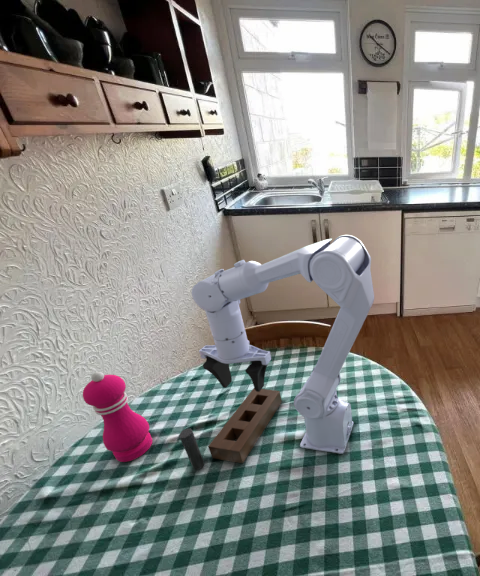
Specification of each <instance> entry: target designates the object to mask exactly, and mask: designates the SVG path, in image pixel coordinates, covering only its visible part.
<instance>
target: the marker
mask: <svg viewBox="0 0 480 576" xmlns="http://www.w3.org/2000/svg"><path fill="white" fill-rule="evenodd" d="M178 437H179V439H180V442H181V444H182V446H183V448H184V451H185V453H186V455H187V458H188V460H189V462H190V465H191V467H192V469H193V470H194V471H198V470H200V469H202V468H203V467H204V465H205V461H204V458H203V454H202V453H201V450H200V447H199V446H198V443H197V440H196V437H195V434H194V431H193V429H192V428H185V429H183V430H182V431H180V432H179V434H178Z"/></svg>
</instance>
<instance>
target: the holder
mask: <svg viewBox="0 0 480 576" xmlns="http://www.w3.org/2000/svg"><path fill="white" fill-rule="evenodd" d="M282 402H283V400H282V396H281V391H280V390H275V389H268V388H267V389H266V388H262V389H261V390H260V392H256V390H255V388H252V390H251V391H250V392H249V393H248V395H247V396H246V397H245V398H244V399H243V401H242V402H241V403H240V404H239V406H238V407H237V409H236V410H235V411H234V413H233V414H232V415H231V416H230V418H229V419H228V420H227V421H226V423H224V426H222V428H221V429H220V430H219V432H218V433H217V434H216V435H215V437H214V438H213V440H212V441H211V442H210V443H209V444H208V445H207V448H208V450H209V452H210V455H211V458H212V459H215V460H220V461H225V462H230V463H231V462H232V463H236V464H237V463H238V464H244V462H245V461H246V460H247V457H248V456H249V455H250V453H251V452H252V450H253V448H254V447H255V445H256V443H257V442H258V441H259V439H260V437H261V436H262V434H263V433H264V431H265V430H266V427H267V426H268V425H269V424H270V422H271V420H272V418H273V417H274V415H275V413H276V412H277V410H278V409H279V407H280V406H281V404H282Z"/></svg>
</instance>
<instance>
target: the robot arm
mask: <svg viewBox="0 0 480 576" xmlns="http://www.w3.org/2000/svg"><path fill="white" fill-rule="evenodd" d="M332 240H333V238H327V239H324V240H323V239H322V240H320V241H317V242H314V243H311V244H309V245H305V246H303V247H301V248H298V249H296V250H293V251H291V252H288V253H286V254H284V255H282V256H279V257H277V258H274V259H272V260H270V261H267V262H265V263H262V264H261V263H260V262H258V261H255V260H249V261H246V260H245V259H241V260H239V261H237V262H235V263H233V267H231V268H228V269H225V270H224V268H220V269H218V270H216V271H215V272H214V273H213V274H212V275H209V276H208V277H206V278H204V279H202V280H199V281H197V283H196V284H194V285H193V286H192V288H191V297H192V300H193V301H194V303H195V304H196V306H198V307H199V308H200V309H202V310H203V311H204V312H205V316H206V319H207V322H208V326H209V329H210V333H211V335H212V338H213V342H214V344H212V345H209V344H206V345H204V346H203V347H202V348H200V349H199V350H198V353H199V355H200V359H203V360H205V362H204V363H203V364H202V368H203V369H204V370H206V371H207V372H209V373H210V374H211V375H212V376H213V377H214V378H216V380H217V381H218V382H219V384H220V385H221V386H222V388H223V389H227V387H228V386H229V385H230V384H231V383H232V382H233V380H232V379H233V378H232V372H231V369H230V365H231V364H239V363H247V362H250V364H249V365H248V367H247V368H246V369H245V370H244V371H245V373H246V374H247V375H248V376H249V378H250V379H251V381H252V384H253V387H254V388H255V390H256V392H260V390H261V389H264V386H265V376H266V370H267V367H268V365H269V363H270V362H271V360H272V355H271V351H270V350H265V349H261V348H259V347H257V346H254V345H252V344H250V340H248V336H247V331H246V328H245V327H246V326H245V323H244V320H243V316H242V312H241V307H240V304H241V300H243V299H247V298H249V297H252V296H255V295H259V294H261V293H264V292H265V291H267V289H268V287H269V285H270V283H272V282H276V281H279V280H283V279H286V278H290V277H293V276H297V275H301V277H303V278H304V280H305V281H306V282H307V283H312V282H314V283H315V284H316V285H317V286H318V287H319V288H320V289H321V290H322V291H323V292H324V293H325V294H326V295H327V296H328V297H329V298H330V299H331V300H333V302H334V303H336V304H337V305H338V306H339V307H340V308H339V310H338V313H337V315H336V317H335V320H334V321H333V325H332V327H331V329H330V331H329V333H328V335H327V339H326V341H325V343H324V346H323V348H322V350H321V353H320V355H319V357H318V359H317V362H316V364H315V366H314V368H313V369H312V370H311V373H310V375H309V376H308V378H307V380H306V381H305V383H304V384H303V386H302V388H301V389H300V391H299V392H298V393H297V394H296V395H295V397H294V399H293V406H294V409H295V410H296V411H297V412H298V414H299V415H300V416H302V417H303V420H304V426H305V433H304V435H303V437H302V440H301V442H300V444H299V447H300V448H302V449H309V450H314V451H320V452H321V451H322V452H328V453H333V454H339V455H343V454H344V453H345V451H346V447H347V445H348V442H349V439H350V437H351V432H352V429H353V427H354V421H353V415H352V413H353V412H352V405H351V403H350V402H347V401H344V400H341V399H340V398H339V396H338V394H337V388H338V387H339V386H340V384H341V381H342V379H341V378H342V377H341V371H342V368H343V366H344V364H345V362H346V360H347V358H348V355H349V354H350V352H351V350H352V347H353V345H354V344H355V341H356V340H357V337H358V336H359V333H360V331H361V329H362V328H363V325H364V323H365V320H366V319H367V317H368V314H369V313H370V311H371V308H372V306H373V304H374V302H375V292H374V283H373V278H372V269H371V267H372V256H371V254H370V253H369V251H368V250H367V248H366V246H365V245H364V243H363V242H362V240H360V239H359V238H357V236H354V235H352V234H343V235H339V236H337V237H336V238H335V239H334V240H333V241H332ZM331 242H332V243H331Z"/></svg>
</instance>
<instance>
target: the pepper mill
mask: <svg viewBox="0 0 480 576" xmlns="http://www.w3.org/2000/svg"><path fill="white" fill-rule="evenodd" d="M90 376H91V377H90V379H91V381H89V382H88V383H87V384H86V385H85V386H84V388H83V391H82V398H83V401H84V402H85V403H86V404H87V405H89V406H92V409H93V410H94V413H95V414H96V415H99V416H101V418H102V420H103V432H102V442H103V445H104V447H105V449H106V450H107V451H109V452H112V455H113V456H114V458H115V459H116V461H117V462H120V463H127V462H131V461H133V460H136V459H138V458H140V457H142V456H143V455H144V454H145V453H146V452H148V450H149V449H151V447H152V444H153V438H152V435H151V433H150V432H149V431H150V423H149V422H148V421H147V419H146V418H145V417H144V416H142V415H141V414H139V413H137V412H135V411H134V410H133V409H131V407H130V405H129V403H128V401H129V396H128V395H127V392H126V389H127V385H126V382H125V380H124V379H123V378H122V377H120V376H119V375H116V374H105V373H104V372H102V371H96V372H95V371H94V373H92V374H91V375H90Z"/></svg>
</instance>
